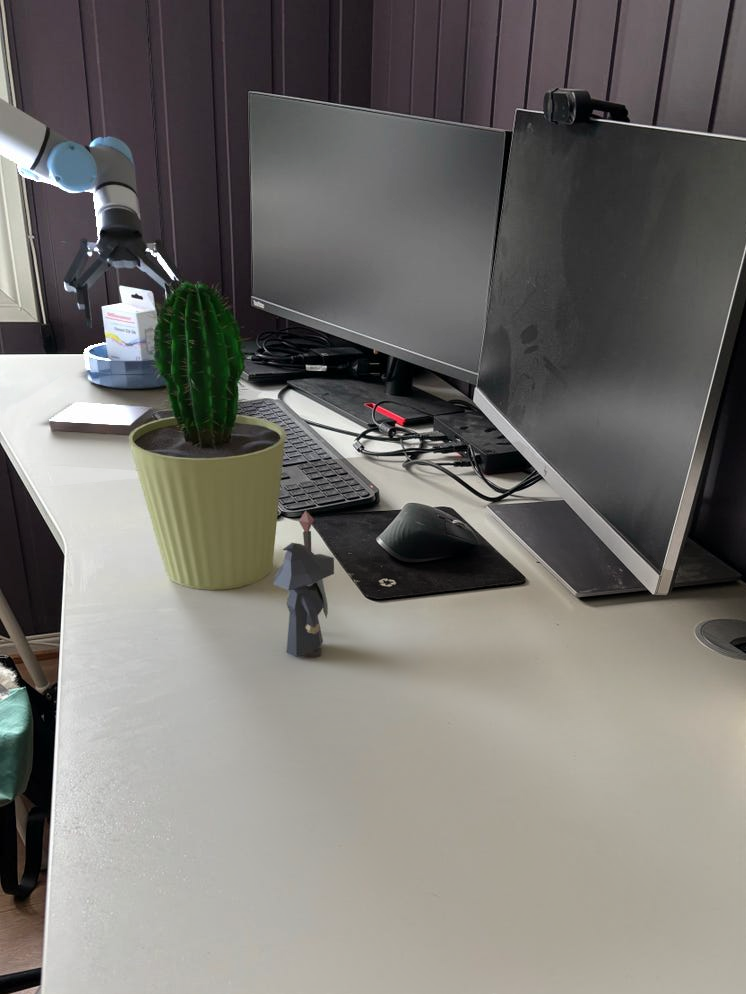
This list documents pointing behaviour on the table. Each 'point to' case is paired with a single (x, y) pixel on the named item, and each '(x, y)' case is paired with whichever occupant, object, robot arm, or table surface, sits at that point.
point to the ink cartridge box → (130, 326)
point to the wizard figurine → (304, 592)
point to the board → (101, 418)
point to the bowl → (120, 370)
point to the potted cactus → (208, 451)
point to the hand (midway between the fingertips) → (131, 323)
